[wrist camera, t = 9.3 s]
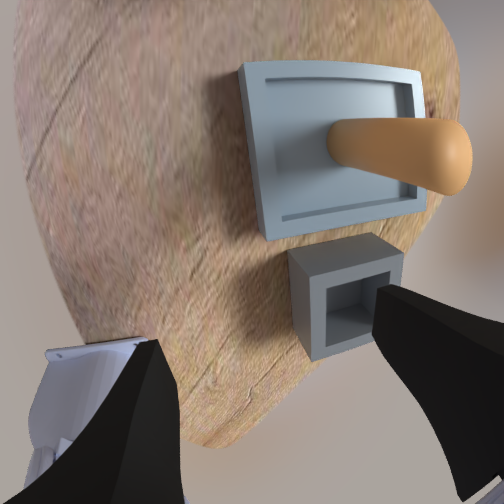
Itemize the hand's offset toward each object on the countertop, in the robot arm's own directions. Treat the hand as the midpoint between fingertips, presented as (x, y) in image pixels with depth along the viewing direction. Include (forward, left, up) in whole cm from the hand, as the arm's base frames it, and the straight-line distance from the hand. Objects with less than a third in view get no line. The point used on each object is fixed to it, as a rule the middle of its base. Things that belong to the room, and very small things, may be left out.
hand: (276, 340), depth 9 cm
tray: (+8, +5, -10) cm, 14 cm away
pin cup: (+7, -5, -10) cm, 13 cm away
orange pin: (+8, +5, -9) cm, 13 cm away
